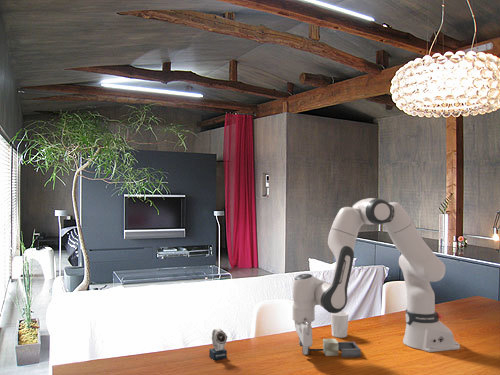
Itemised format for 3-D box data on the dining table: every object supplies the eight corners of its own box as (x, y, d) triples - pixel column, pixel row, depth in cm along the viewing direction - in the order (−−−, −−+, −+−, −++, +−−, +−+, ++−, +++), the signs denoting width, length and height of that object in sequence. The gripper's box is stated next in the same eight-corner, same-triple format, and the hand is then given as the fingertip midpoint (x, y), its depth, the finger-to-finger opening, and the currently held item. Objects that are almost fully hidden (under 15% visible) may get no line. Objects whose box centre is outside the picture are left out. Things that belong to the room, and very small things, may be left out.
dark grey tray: (354, 348, 179) (354, 341, 179) (360, 357, 170) (360, 349, 170) (336, 349, 178) (336, 341, 178) (341, 357, 170) (341, 349, 170)
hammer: (335, 350, 177) (335, 338, 177) (338, 355, 172) (338, 343, 172) (301, 351, 176) (301, 339, 176) (303, 356, 171) (304, 343, 171)
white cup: (328, 336, 193) (329, 314, 193) (332, 331, 200) (332, 309, 200) (346, 339, 190) (346, 316, 190) (349, 333, 198) (349, 311, 198)
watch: (215, 362, 164) (215, 333, 164) (207, 355, 171) (207, 327, 171) (229, 360, 167) (229, 331, 167) (220, 352, 174) (220, 325, 174)
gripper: (316, 323, 163) (316, 359, 163) (306, 308, 184) (306, 340, 184) (299, 323, 163) (299, 360, 163) (292, 308, 183) (292, 340, 183)
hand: (303, 349), depth 173 cm, fingers open, 7 cm apart
